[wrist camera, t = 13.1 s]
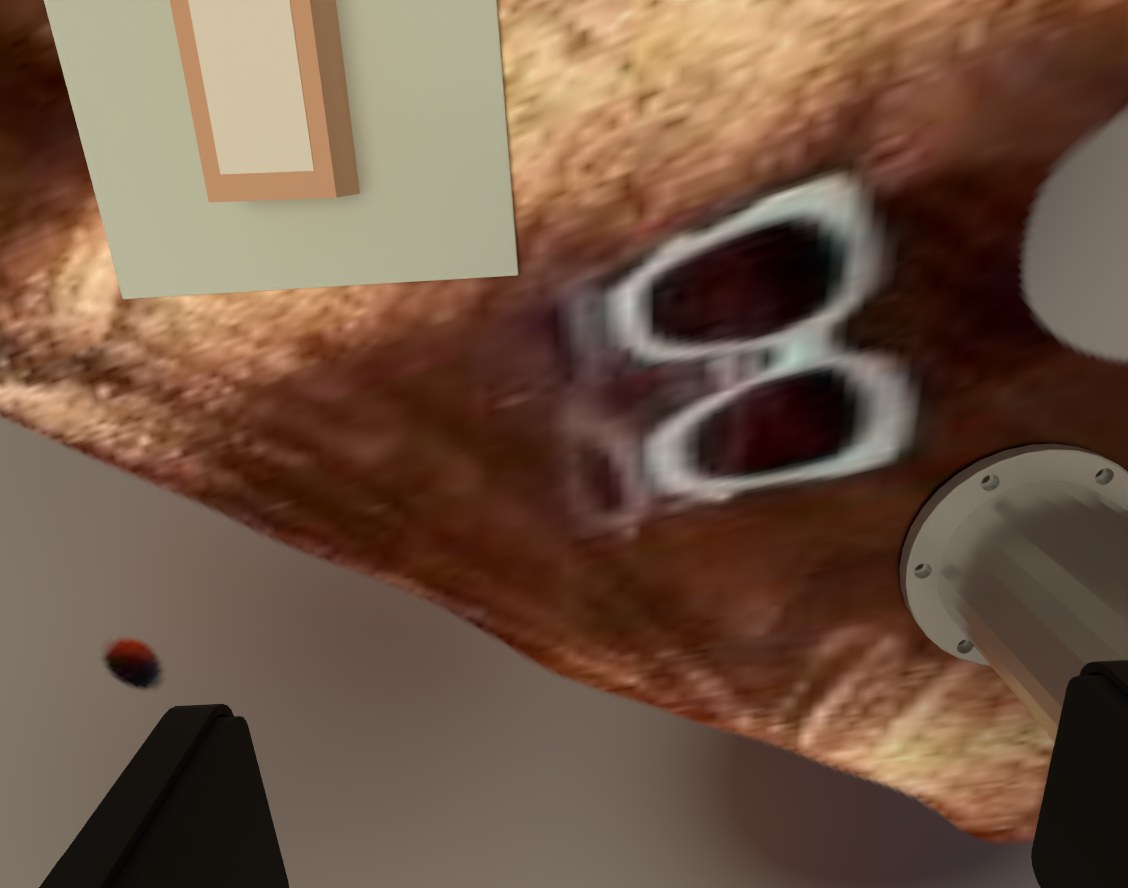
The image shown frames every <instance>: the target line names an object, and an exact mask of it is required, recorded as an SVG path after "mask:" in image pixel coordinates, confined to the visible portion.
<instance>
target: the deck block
mask: <svg viewBox="0 0 1128 888" xmlns="http://www.w3.org/2000/svg"><path fill="white" fill-rule="evenodd" d="M170 4H171V10H172V15H173V20H174V25H175V30H176V35H177V41H178V46H179V51H180V56H181V61H182V67H183V72H184V77H185V82H186V87H187V92H188V98H189V103H190V108H191V113H192V118H193V124H194V129H195V134H196V139H197V144H198V149H199V155H200V160H201V165H202V170H203V175H204V181H205V186H206V191H207V196H208V201H209V202H233V201H259V200H285V199H311V198H337V197H342V196H348V195H354V194H360V190H359V182H358V174H357V166H356V158H355V150H354V142H353V134H352V126H351V118H350V110H349V102H348V94H347V86H346V78H345V70H344V62H343V54H342V46H341V38H340V30H339V22H338V14H337V6H336V0H170Z"/></svg>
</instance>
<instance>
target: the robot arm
mask: <svg viewBox="0 0 1128 888" xmlns="http://www.w3.org/2000/svg"><path fill="white" fill-rule="evenodd" d="M899 569H900V588H901V591H902V594H903V598H904V601H905V604H906V607H907V608H908V610H909V612H910V614H911V615H912V617H913V619H914V620H915V622H916V623H917V624H918V626H919V627H920V628H921V629H922V631H923V632H924V633H925V634H926V636H927V637H928V638H929V639H930V640H932V641H933V642H934V643H935V644H936V645H938V646H939V647H940V648H941V649H942V650H944V651H946V652H948V653H950V654H951V655H953V656H955V657H957V658H960V659H963V660H966V661H969V662H973V663H976V664H980V665H988V666H991V667H992V668H993V669H994V670H995V671H996V673H997V674H998V675H999V676H1000V677H1001V679H1002V680H1003V681H1004V682H1005V683H1006V685H1007V686H1008V687H1009V688H1010V689H1011V691H1012V692H1013V693H1014V694H1015V695H1016V697H1017V698H1018V699H1019V700H1020V701H1021V702H1022V704H1023V705H1024V706H1025V707H1026V708H1027V710H1028V711H1029V712H1030V713H1031V714H1032V716H1033V717H1034V718H1035V719H1036V720H1037V722H1038V723H1039V724H1040V725H1041V726H1042V727H1043V729H1044V730H1045V731H1046V732H1047V733H1048V735H1049V736H1050V737H1051V738H1052V739H1053V741H1054V742H1055V744H1054V749H1053V753H1052V758H1051V763H1050V768H1049V772H1048V777H1047V782H1046V786H1045V791H1044V796H1043V800H1042V805H1041V810H1040V814H1039V819H1038V824H1037V828H1036V833H1035V838H1034V842H1033V847H1032V856H1031V858H1032V866H1033V869H1034V874H1035V876H1036V879H1037V881H1038V884H1039V885H1040V887H1041V888H1128V472H1127V471H1126V470H1125V469H1123V468H1122V467H1121V466H1120V465H1118V464H1116V463H1114V462H1113V461H1111V460H1109V459H1107V458H1105V457H1103V456H1102V455H1100V454H1098V453H1095V452H1092V451H1089V450H1086V449H1083V448H1080V447H1076V446H1069V445H1061V444H1038V445H1027V446H1022V447H1018V448H1013V449H1009V450H1005V451H1002V452H999V453H997V454H994V455H992V456H989V457H987V458H984V459H982V460H980V461H978V462H976V463H975V464H973V465H971V466H970V467H968V468H966V469H965V470H963V471H961V472H960V473H958V474H957V475H955V476H954V477H953V478H952V479H951V480H949V481H948V482H947V483H946V484H945V485H943V486H942V487H941V488H940V489H939V490H938V491H937V492H936V493H935V494H934V495H933V496H932V498H931V499H930V500H929V501H928V502H927V503H926V504H925V506H924V507H923V508H922V510H921V511H920V513H919V514H918V516H917V518H916V519H915V521H914V523H913V524H912V526H911V528H910V530H909V533H908V535H907V538H906V541H905V543H904V546H903V549H902V556H901V562H900V568H899ZM39 888H289V884H288V879H287V875H286V872H285V868H284V864H283V860H282V856H281V852H280V848H279V844H278V840H277V837H276V833H275V829H274V825H273V821H272V818H271V813H270V810H269V805H268V801H267V798H266V794H265V790H264V786H263V782H262V778H261V774H260V770H259V766H258V763H257V759H256V755H255V751H254V747H253V743H252V739H251V736H250V732H249V728H248V725H247V722H246V720H245V719H244V718H243V717H239V716H236V717H234V715H233V713H232V711H231V709H230V708H229V707H228V706H227V705H224V704H213V705H212V704H211V705H192V706H175V707H173V708H171V709H169V710H168V711H167V712H166V713H165V714H164V716H163V717H162V718H161V720H160V721H159V722H158V724H157V725H156V727H155V728H154V730H153V731H152V732H151V734H150V735H149V736H148V738H147V739H146V741H145V742H144V744H143V745H142V746H141V748H140V749H139V750H138V752H137V753H136V754H135V756H134V757H133V759H132V760H131V762H130V763H129V764H128V766H127V767H126V768H125V770H124V771H123V773H122V774H121V775H120V777H119V778H118V780H117V781H116V782H115V784H114V785H113V786H112V788H111V789H110V791H109V792H108V793H107V795H106V796H105V798H104V799H103V801H102V802H101V803H100V805H99V806H98V807H97V809H96V810H95V812H94V813H93V814H92V816H91V817H90V819H89V820H88V821H87V823H86V824H85V826H84V827H83V828H82V830H81V831H80V832H79V834H78V835H77V837H76V838H75V839H74V841H73V842H72V844H71V845H70V846H69V848H68V849H67V851H66V852H65V853H64V855H63V856H62V857H61V858H60V860H59V861H58V862H57V864H56V865H55V867H54V868H53V869H52V870H51V872H50V873H49V875H48V876H47V877H46V879H45V880H44V882H43V883H42V885H41V886H40V887H39Z"/></svg>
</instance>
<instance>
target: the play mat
mask: <svg viewBox="0 0 1128 888" xmlns="http://www.w3.org/2000/svg"><path fill="white" fill-rule="evenodd" d="M44 2H45V6H46V10H47V14H48V18H49V21H50V25H51V29H52V33H53V36H54V40H55V44H56V48H57V52H58V55H59V59H60V63H61V67H62V70H63V74H64V78H65V82H66V86H67V89H68V93H69V97H70V101H71V105H72V108H73V112H74V116H75V120H76V123H77V127H78V131H79V135H80V139H81V142H82V146H83V150H84V154H85V157H86V161H87V165H88V169H89V173H90V176H91V180H92V184H93V188H94V191H95V195H96V199H97V203H98V207H99V210H100V214H101V218H102V222H103V225H104V229H105V233H106V237H107V241H108V244H109V248H110V252H111V256H112V259H113V263H114V267H115V271H116V275H117V278H118V282H119V286H120V290H121V293H122V297H123V299H133V298H149V297H166V296H182V295H199V294H216V293H232V292H249V291H265V290H282V289H299V288H315V287H332V286H348V285H365V284H382V283H398V282H415V281H431V280H448V279H465V278H481V277H498V276H514V275H518V274H519V271H518V258H517V246H516V233H515V221H514V208H513V195H512V183H511V170H510V158H509V145H508V132H507V120H506V107H505V95H504V82H503V69H502V57H501V44H500V32H499V19H498V6H497V0H336V6H337V14H338V22H339V30H340V38H341V46H342V54H343V62H344V70H345V78H346V86H347V94H348V102H349V110H350V118H351V126H352V134H353V142H354V150H355V158H356V166H357V174H358V182H359V190H360V194H354V195H348V196H342V197H337V198H311V199H285V200H259V201H233V202H209V201H208V196H207V191H206V186H205V181H204V175H203V170H202V165H201V160H200V155H199V149H198V144H197V139H196V134H195V129H194V124H193V118H192V113H191V108H190V103H189V98H188V92H187V87H186V82H185V77H184V72H183V67H182V61H181V56H180V51H179V46H178V41H177V35H176V30H175V25H174V20H173V15H172V10H171V4H170V0H44Z"/></svg>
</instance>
